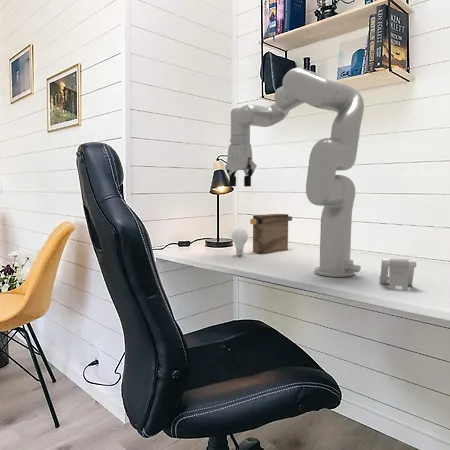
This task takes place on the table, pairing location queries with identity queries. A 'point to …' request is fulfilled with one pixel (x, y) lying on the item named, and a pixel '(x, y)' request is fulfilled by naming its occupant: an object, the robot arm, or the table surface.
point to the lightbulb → (239, 240)
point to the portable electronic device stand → (397, 273)
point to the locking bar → (258, 221)
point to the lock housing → (270, 233)
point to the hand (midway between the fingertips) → (240, 186)
